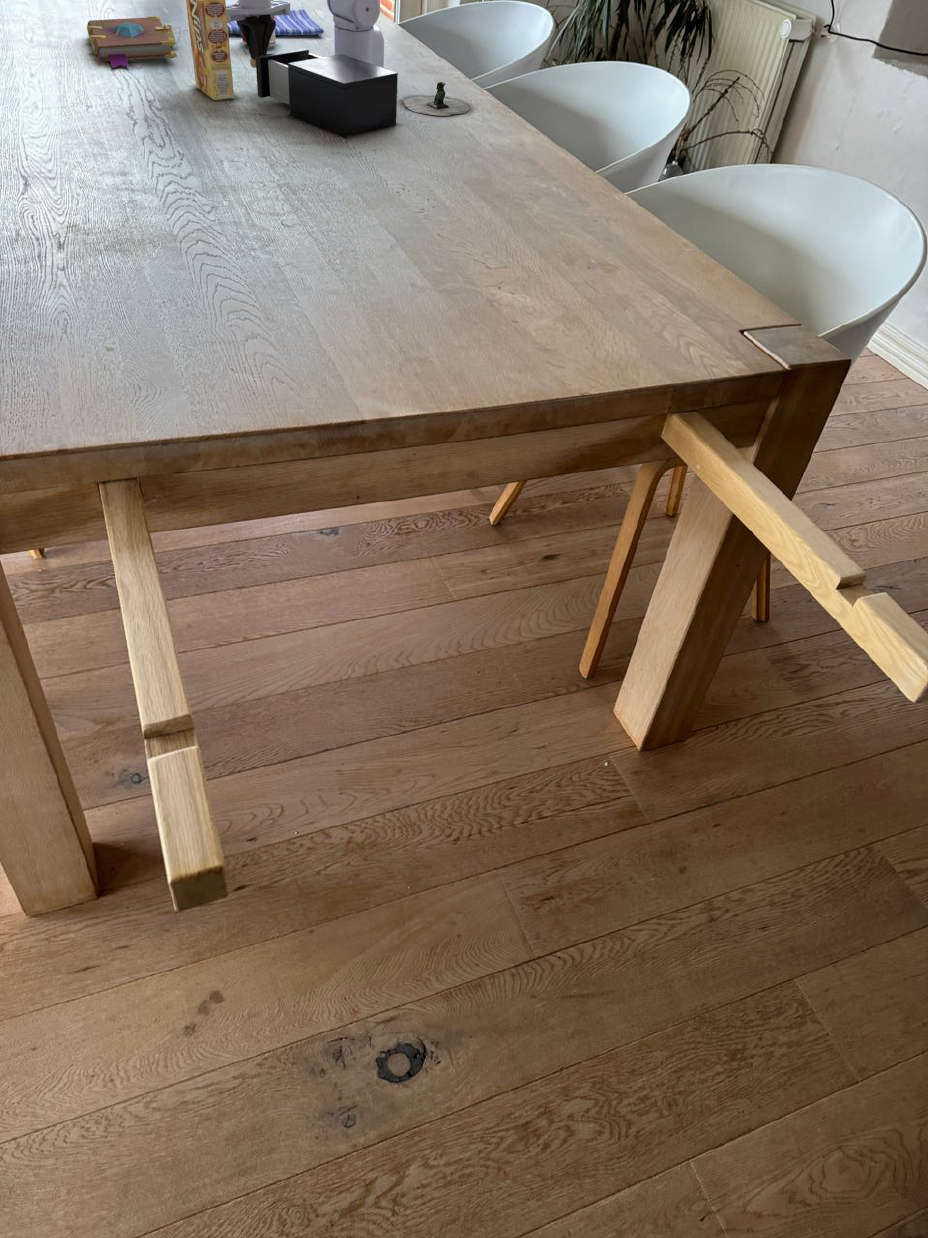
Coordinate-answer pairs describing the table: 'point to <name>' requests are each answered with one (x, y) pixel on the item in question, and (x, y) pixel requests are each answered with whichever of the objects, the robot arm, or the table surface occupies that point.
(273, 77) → the drawer
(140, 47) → the book
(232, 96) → the candy box
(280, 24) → the dish towel
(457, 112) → the sculpture
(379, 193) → the table surface
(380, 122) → the cabinet
